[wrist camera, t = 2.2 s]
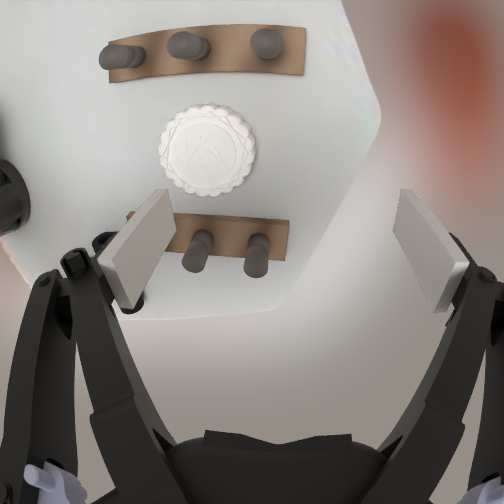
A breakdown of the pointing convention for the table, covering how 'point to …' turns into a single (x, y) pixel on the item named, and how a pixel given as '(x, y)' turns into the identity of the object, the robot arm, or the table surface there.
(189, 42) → the rails
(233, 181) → the mooncake
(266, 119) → the table surface
